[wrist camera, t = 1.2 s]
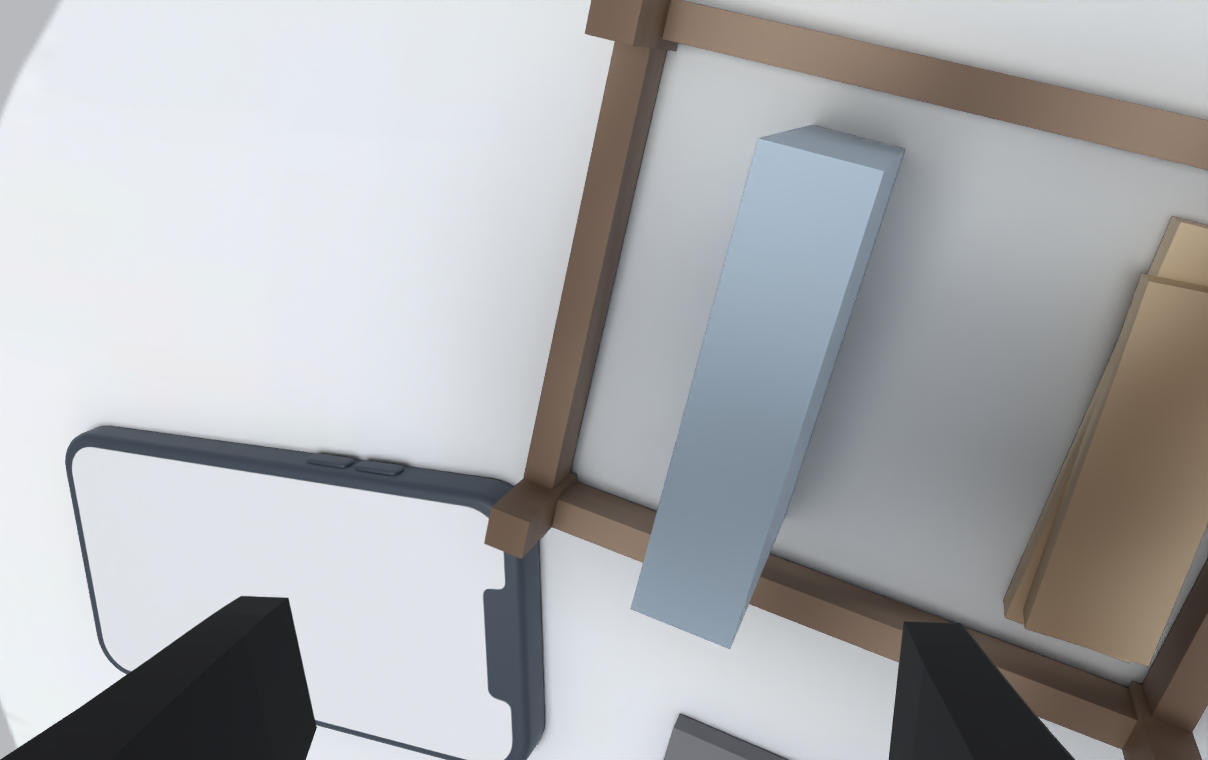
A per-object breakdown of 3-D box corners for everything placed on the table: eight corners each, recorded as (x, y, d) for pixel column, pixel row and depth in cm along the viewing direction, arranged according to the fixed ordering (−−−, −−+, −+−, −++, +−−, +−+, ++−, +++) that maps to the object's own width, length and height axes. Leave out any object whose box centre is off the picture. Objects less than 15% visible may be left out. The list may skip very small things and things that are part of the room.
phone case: (137, 649, 34) (552, 754, 28) (99, 674, 32) (529, 790, 27) (96, 411, 31) (544, 474, 25) (52, 427, 30) (517, 497, 24)
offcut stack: (1324, 255, 18) (1356, 269, 16) (1126, 644, 21) (1138, 685, 20) (1158, 212, 18) (1174, 223, 17) (991, 595, 22) (993, 631, 20)
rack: (1463, 180, 17) (1559, 198, 14) (1161, 734, 21) (1190, 828, 19) (643, -7, 21) (595, -22, 18) (535, 494, 25) (484, 543, 22)
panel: (905, 148, 20) (883, 171, 14) (784, 518, 23) (729, 649, 18) (812, 124, 20) (758, 138, 15) (706, 489, 24) (630, 608, 18)
